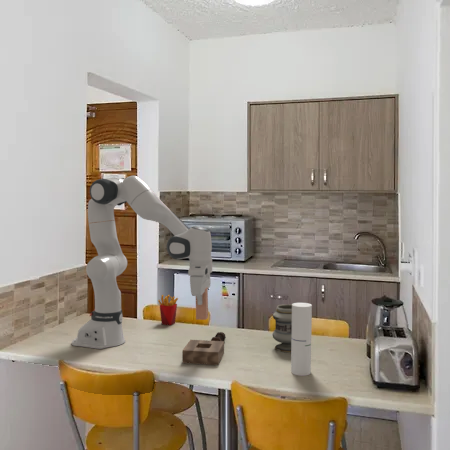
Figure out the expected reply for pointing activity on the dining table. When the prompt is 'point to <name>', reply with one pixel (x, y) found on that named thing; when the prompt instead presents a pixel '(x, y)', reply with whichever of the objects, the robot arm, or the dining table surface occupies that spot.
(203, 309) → the peg
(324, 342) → the dining table surface
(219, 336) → the bolt
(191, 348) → the socket block
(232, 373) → the dining table surface
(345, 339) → the dining table surface
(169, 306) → the french fries
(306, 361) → the cylindrical container
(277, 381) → the dining table surface
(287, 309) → the apothecary jar
